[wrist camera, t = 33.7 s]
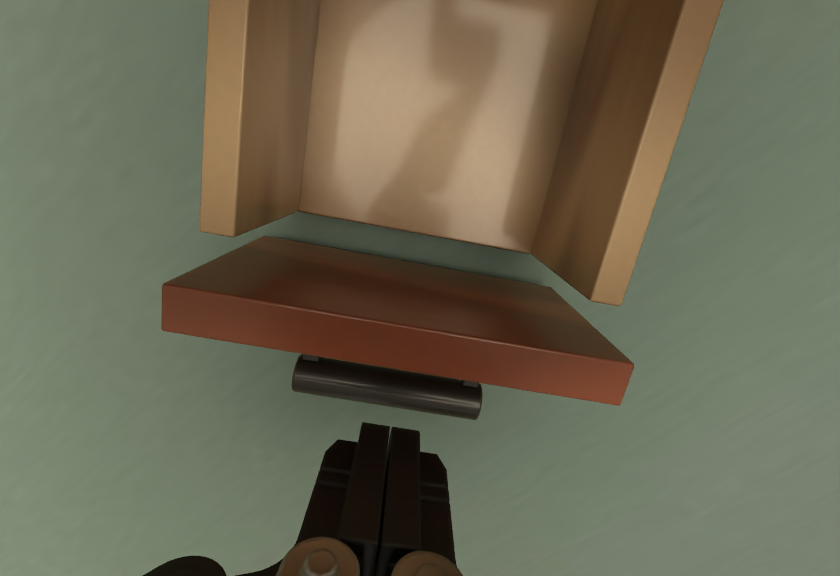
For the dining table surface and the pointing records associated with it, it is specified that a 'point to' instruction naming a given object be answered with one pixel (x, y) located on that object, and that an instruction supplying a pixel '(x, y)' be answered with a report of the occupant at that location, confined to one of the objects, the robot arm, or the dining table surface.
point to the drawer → (436, 184)
